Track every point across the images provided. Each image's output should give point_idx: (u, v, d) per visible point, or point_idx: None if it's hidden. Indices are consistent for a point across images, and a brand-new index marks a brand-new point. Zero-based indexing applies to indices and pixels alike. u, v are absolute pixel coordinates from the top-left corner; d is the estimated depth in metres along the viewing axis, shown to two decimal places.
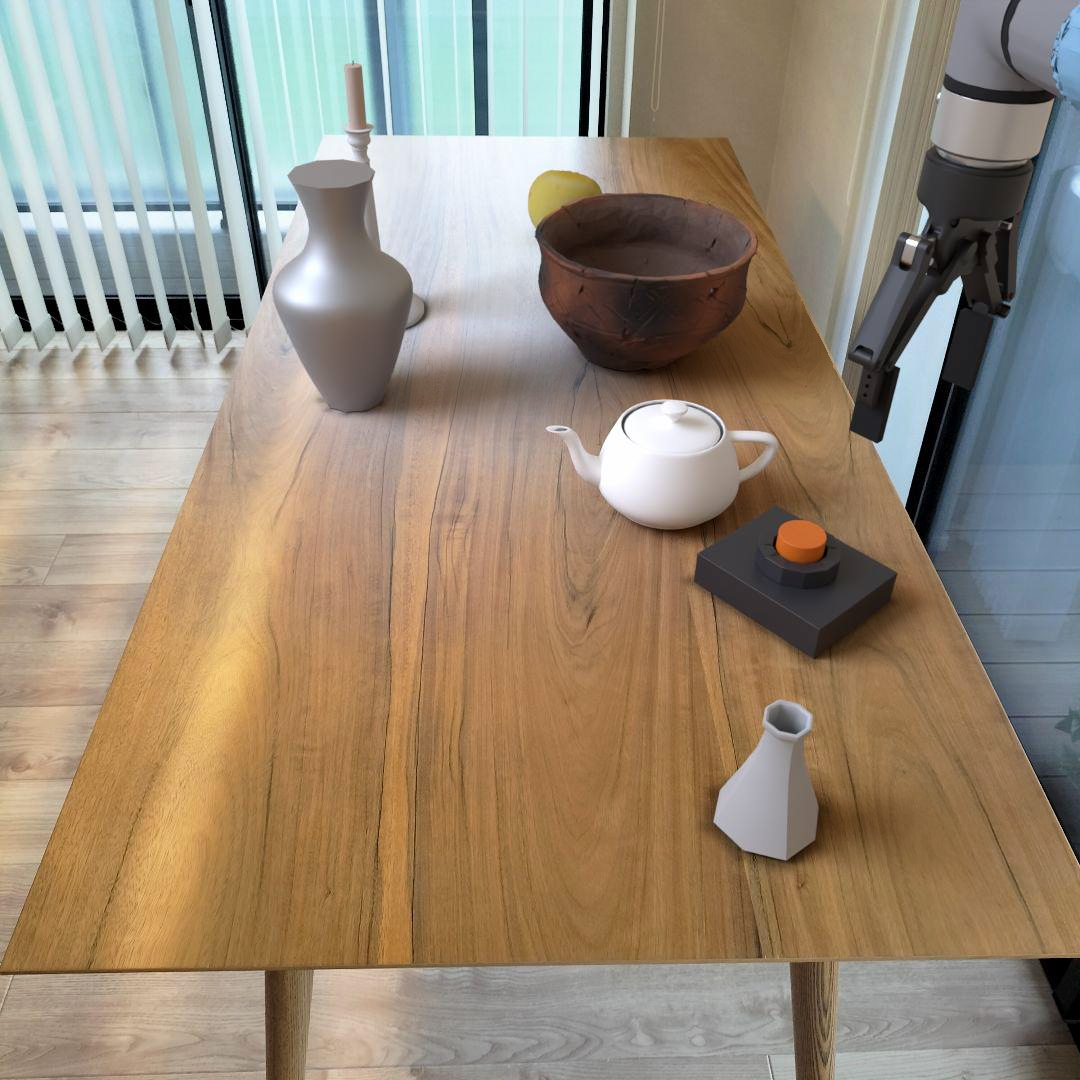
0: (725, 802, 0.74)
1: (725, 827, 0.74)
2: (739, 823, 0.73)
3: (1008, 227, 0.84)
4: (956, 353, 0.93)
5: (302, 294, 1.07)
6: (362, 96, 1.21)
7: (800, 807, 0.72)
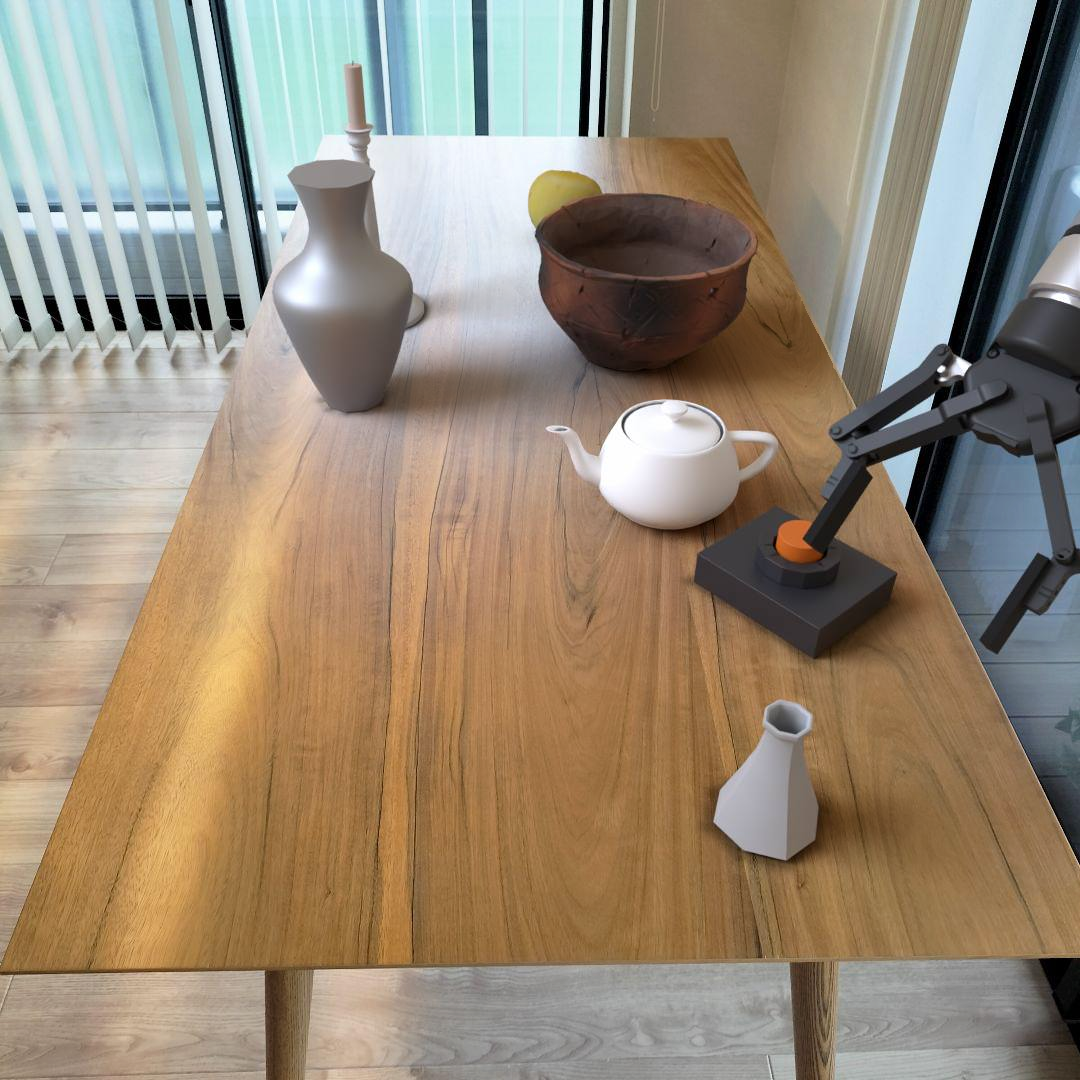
0: (725, 802, 0.74)
1: (725, 827, 0.74)
2: (739, 823, 0.73)
3: None
4: None
5: (302, 294, 1.07)
6: (362, 96, 1.21)
7: (800, 807, 0.72)
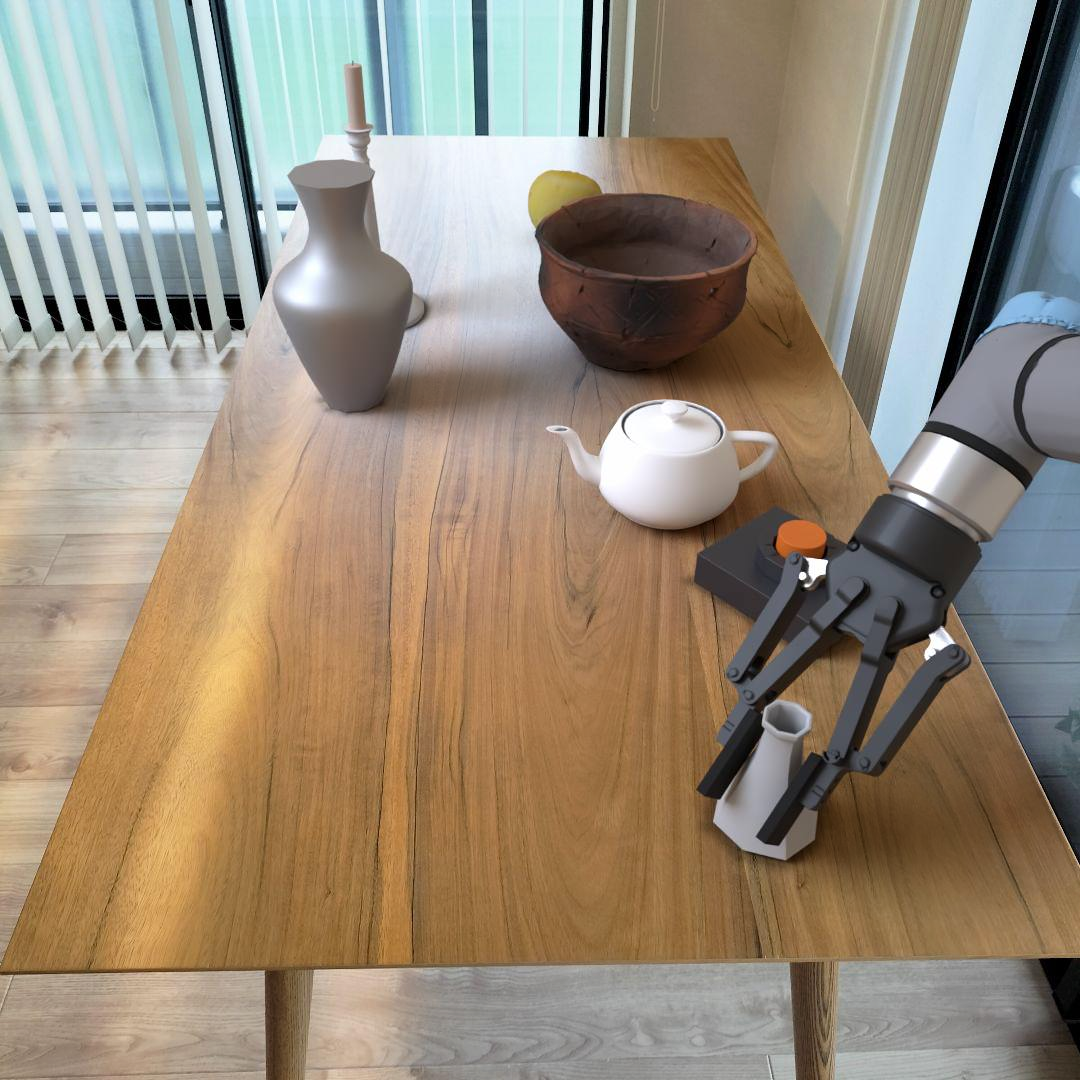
0: (725, 802, 0.74)
1: (724, 827, 0.74)
2: (738, 823, 0.73)
3: (929, 649, 0.67)
4: None
5: (302, 294, 1.07)
6: (362, 96, 1.21)
7: None
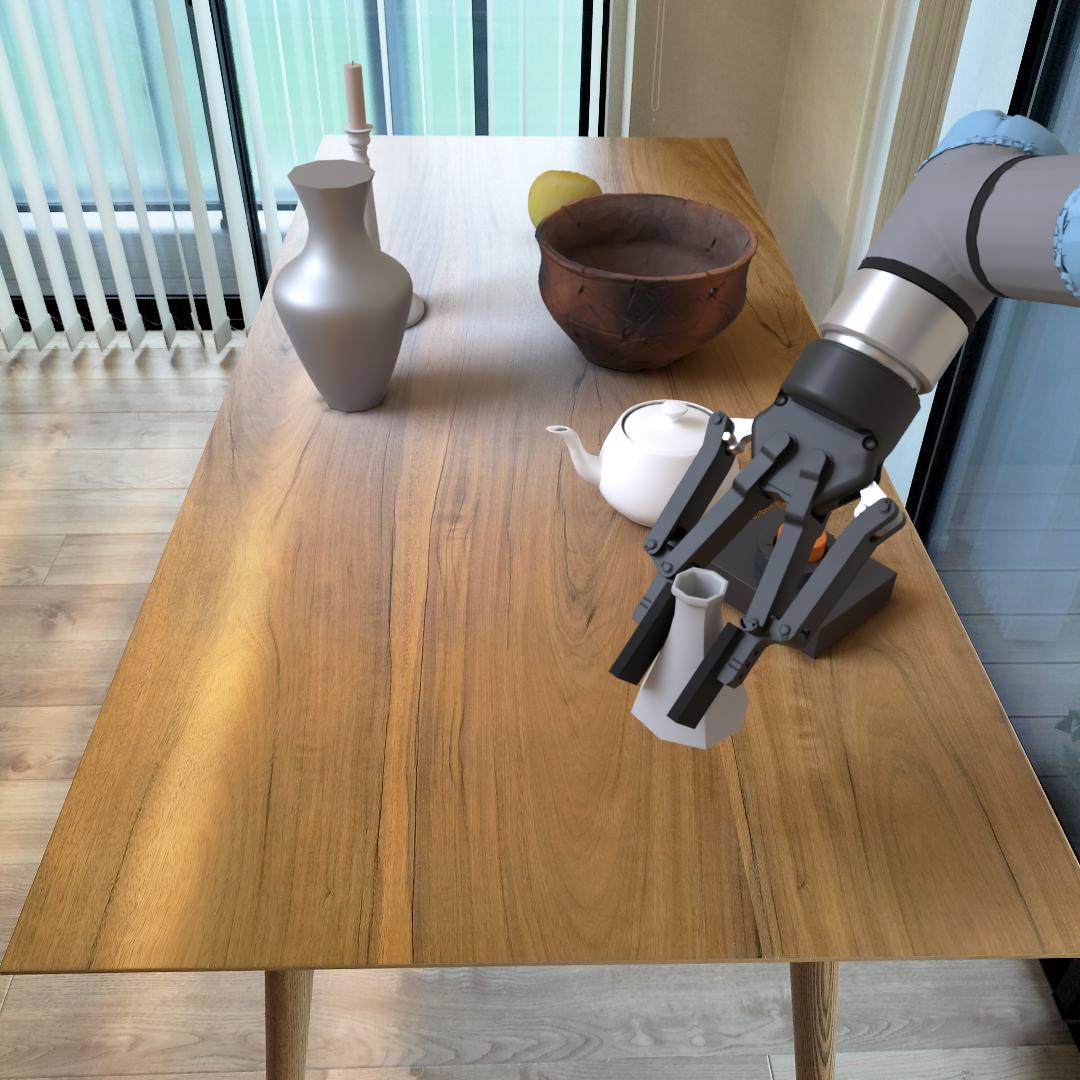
0: (642, 688, 0.67)
1: (642, 716, 0.67)
2: (655, 709, 0.66)
3: (859, 505, 0.60)
4: None
5: (302, 294, 1.07)
6: (362, 96, 1.21)
7: (720, 690, 0.65)
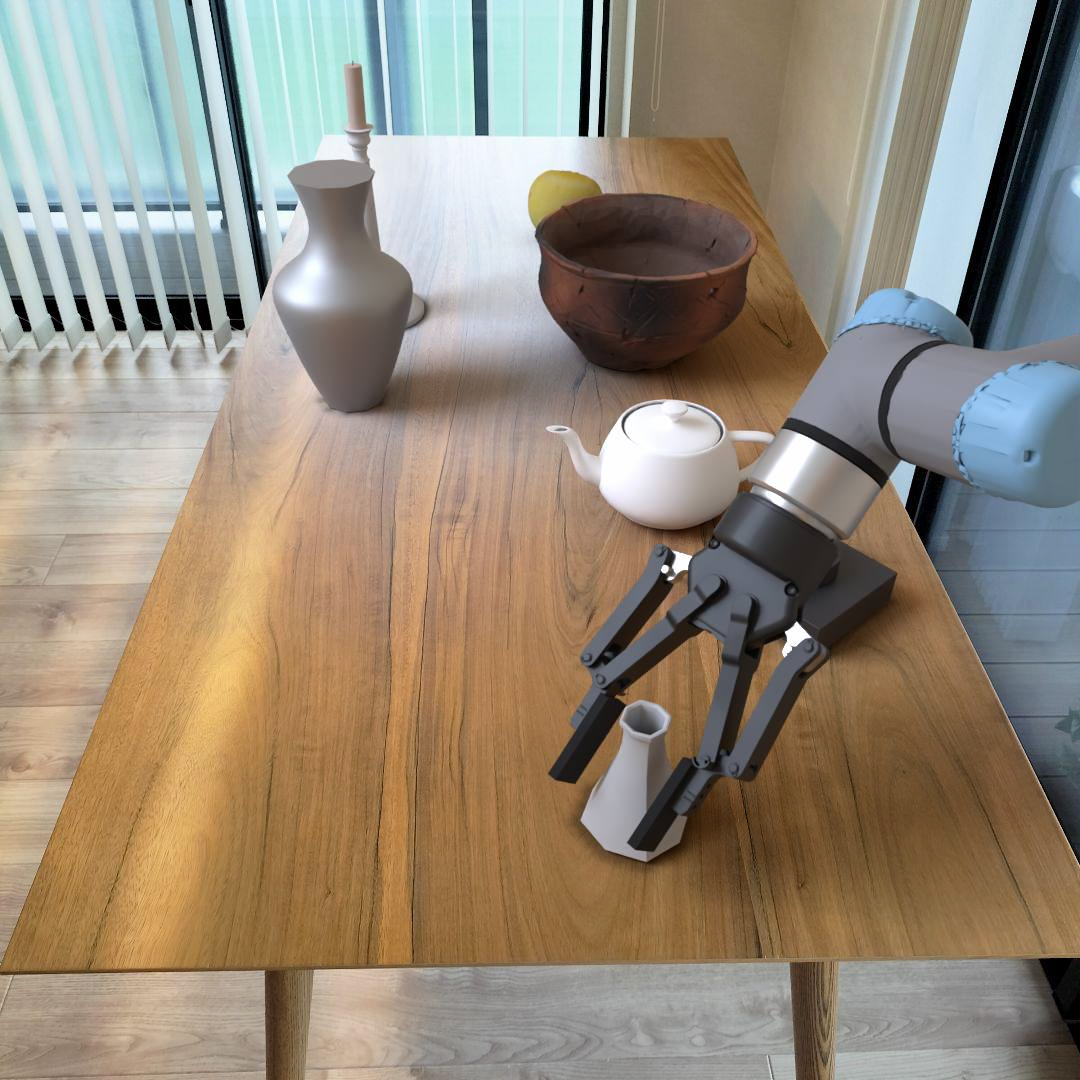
0: (591, 801, 0.73)
1: (590, 826, 0.74)
2: (602, 823, 0.72)
3: (785, 646, 0.66)
4: None
5: (302, 294, 1.07)
6: (362, 96, 1.21)
7: None
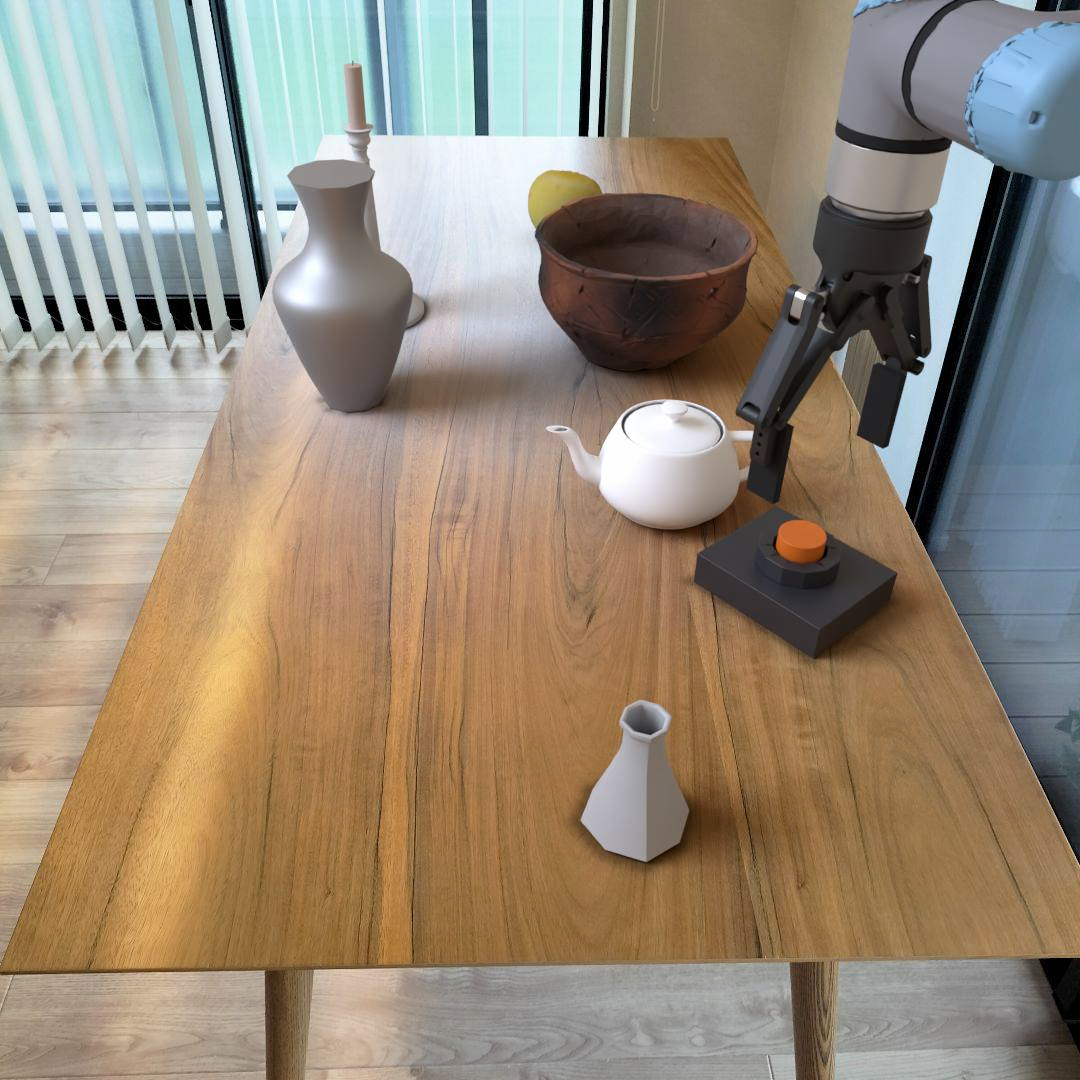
0: (591, 801, 0.73)
1: (590, 826, 0.74)
2: (602, 823, 0.72)
3: (916, 280, 0.79)
4: (870, 409, 0.88)
5: (302, 294, 1.07)
6: (362, 96, 1.21)
7: (661, 809, 0.71)
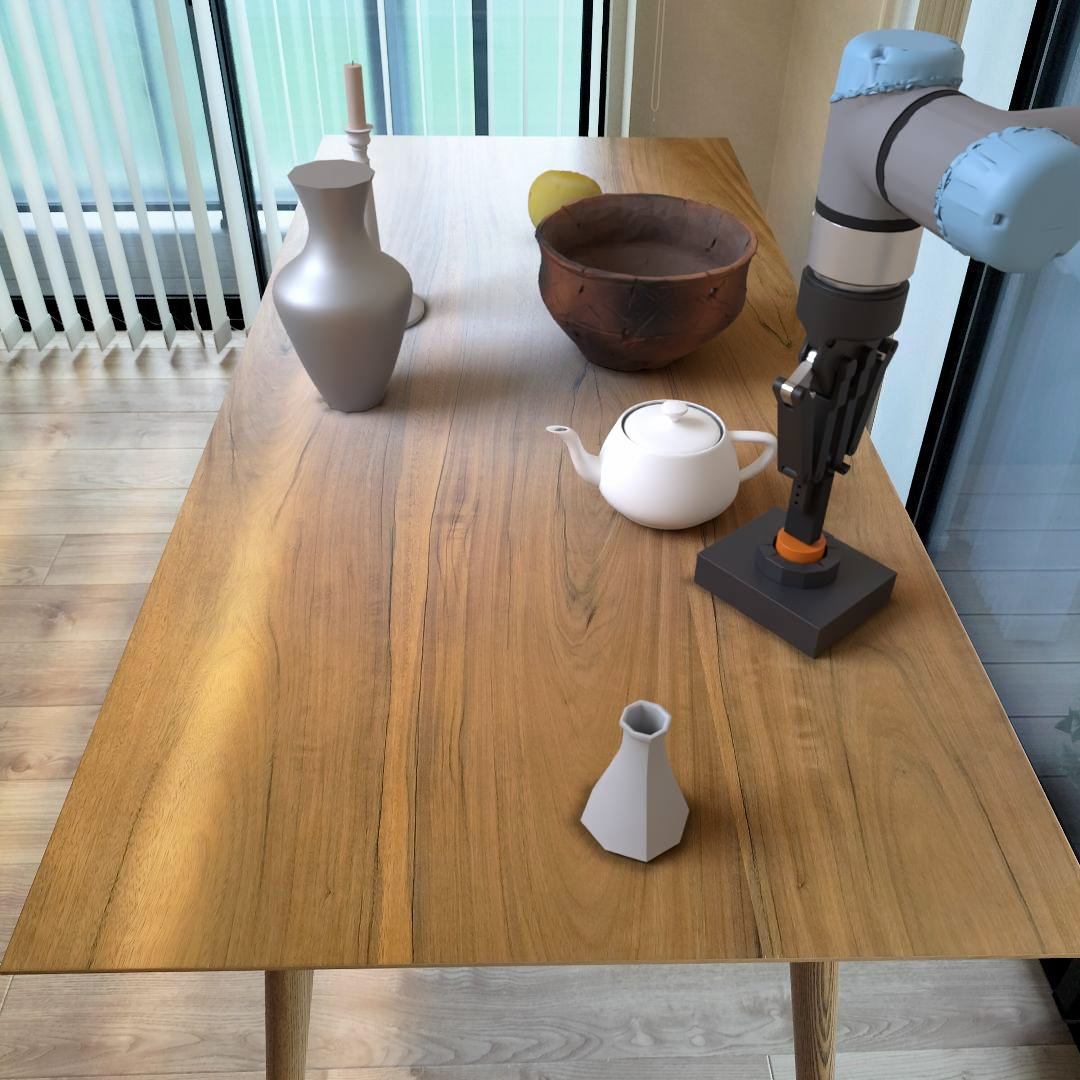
0: (591, 801, 0.73)
1: (590, 826, 0.74)
2: (602, 823, 0.72)
3: (882, 356, 0.83)
4: None
5: (302, 294, 1.07)
6: (362, 96, 1.21)
7: (661, 809, 0.71)
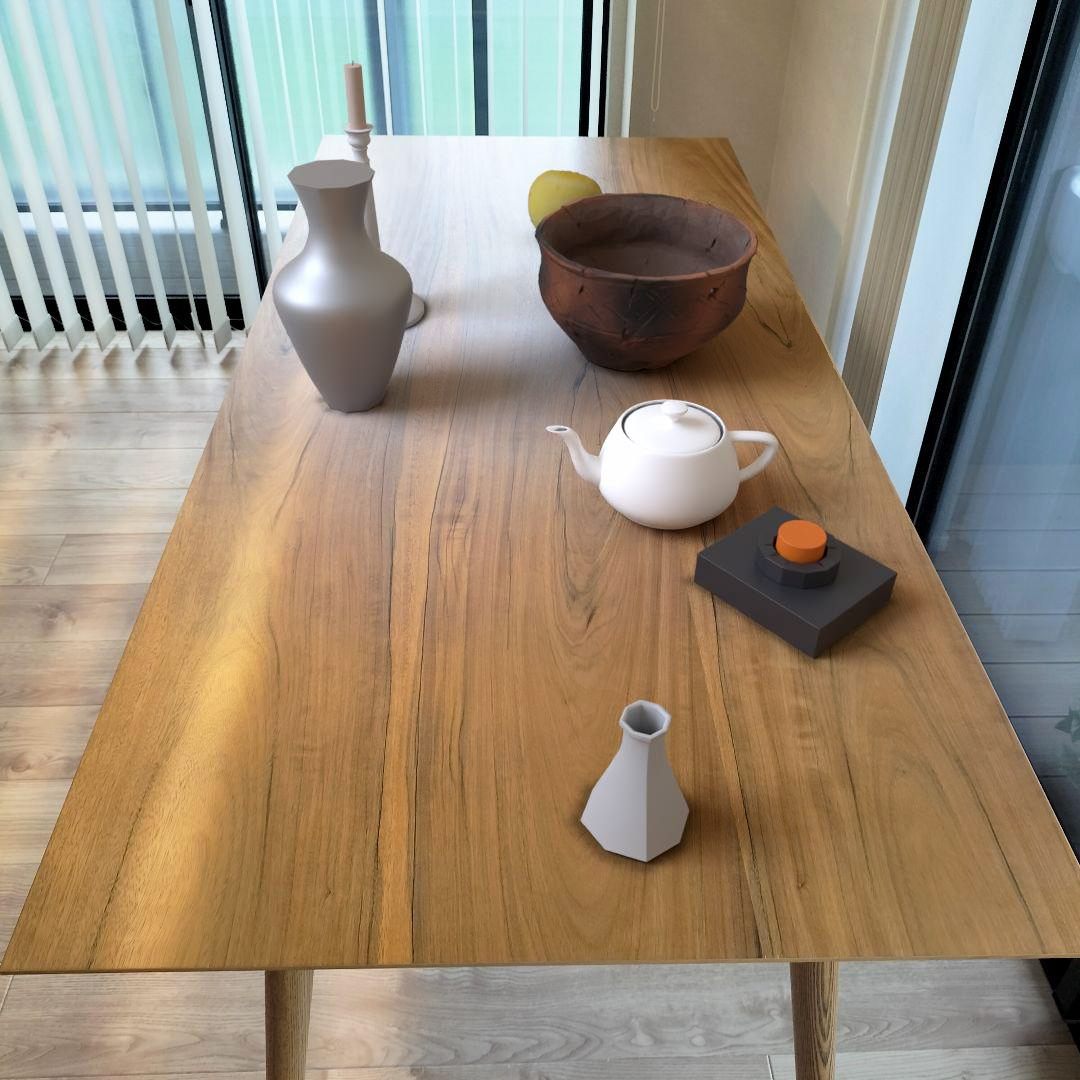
0: (591, 801, 0.73)
1: (590, 826, 0.74)
2: (602, 823, 0.72)
3: None
4: None
5: (302, 294, 1.07)
6: (362, 96, 1.21)
7: (661, 809, 0.71)
